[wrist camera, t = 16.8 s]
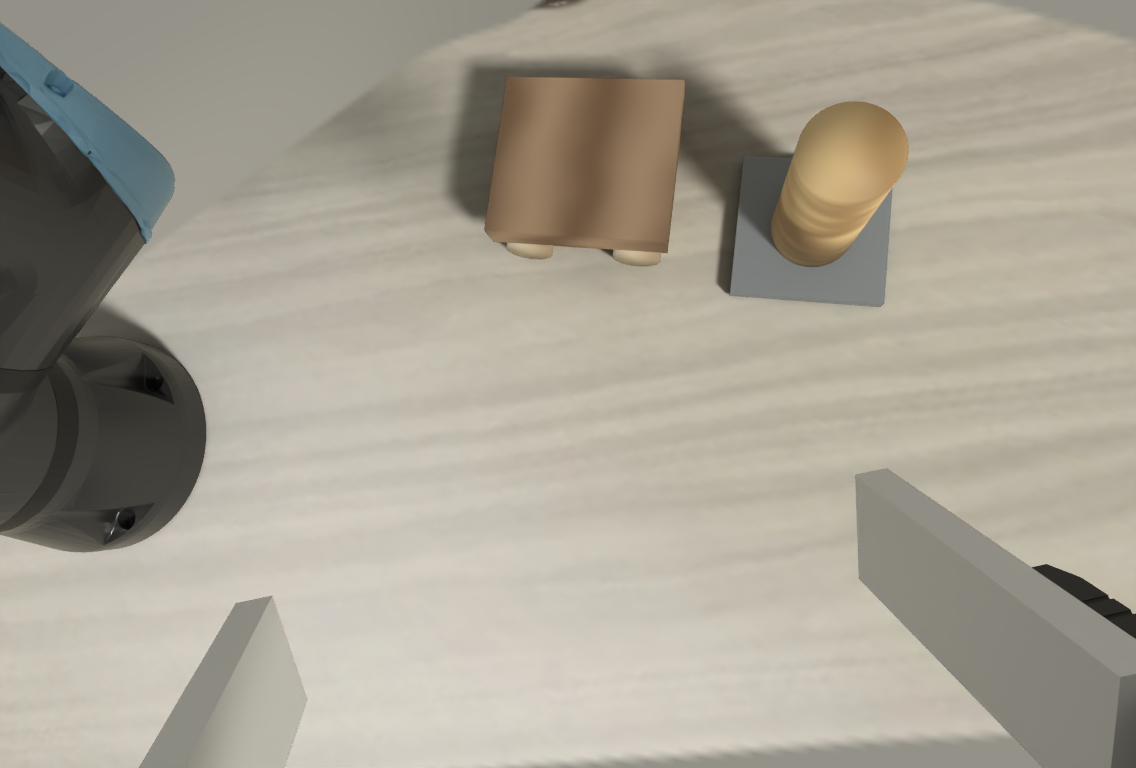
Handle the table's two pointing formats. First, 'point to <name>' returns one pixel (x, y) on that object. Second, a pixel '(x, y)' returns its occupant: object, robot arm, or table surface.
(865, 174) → the roller
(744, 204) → the pad
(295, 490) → the table surface
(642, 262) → the slab
